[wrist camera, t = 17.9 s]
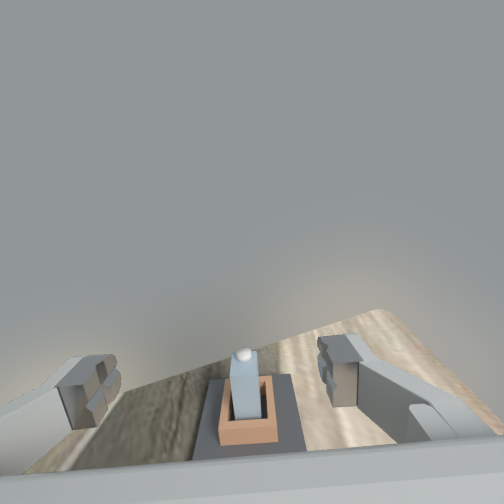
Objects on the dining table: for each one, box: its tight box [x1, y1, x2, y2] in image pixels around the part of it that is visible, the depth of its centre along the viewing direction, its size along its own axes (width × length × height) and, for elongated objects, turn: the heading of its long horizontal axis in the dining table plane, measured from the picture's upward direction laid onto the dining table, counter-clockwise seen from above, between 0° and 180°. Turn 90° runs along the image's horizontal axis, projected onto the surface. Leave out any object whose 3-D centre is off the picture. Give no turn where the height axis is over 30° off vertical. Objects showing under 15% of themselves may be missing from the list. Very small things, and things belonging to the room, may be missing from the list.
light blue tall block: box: [230, 347, 262, 421], centre depth 37 cm, size 4×5×11 cm
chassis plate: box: [192, 374, 307, 461], centre depth 38 cm, size 16×16×4 cm
